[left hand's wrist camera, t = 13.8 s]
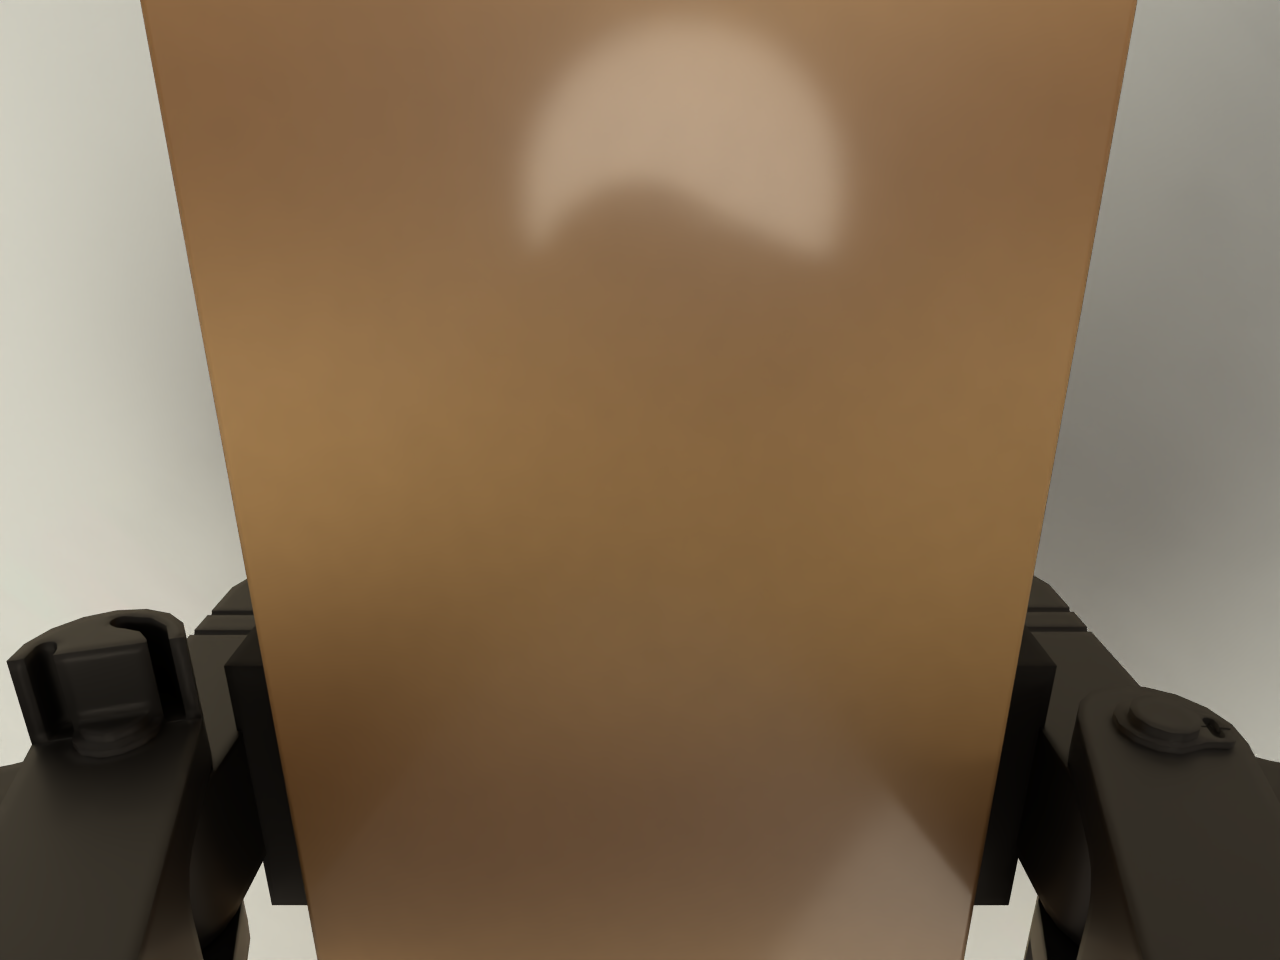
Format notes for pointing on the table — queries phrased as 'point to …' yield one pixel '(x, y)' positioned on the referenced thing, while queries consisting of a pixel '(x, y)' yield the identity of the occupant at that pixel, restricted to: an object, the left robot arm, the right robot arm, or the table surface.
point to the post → (639, 445)
